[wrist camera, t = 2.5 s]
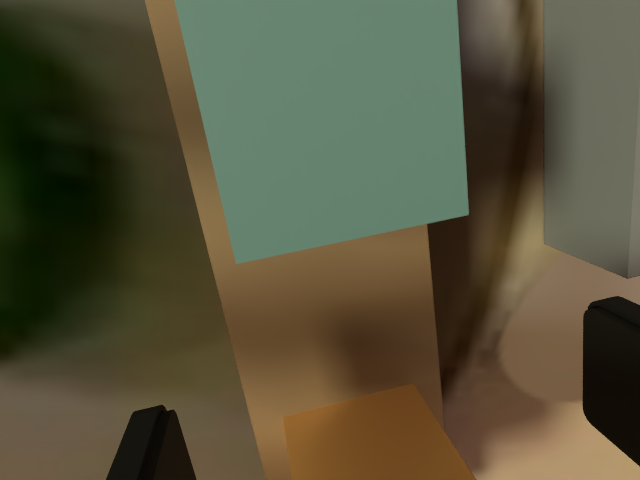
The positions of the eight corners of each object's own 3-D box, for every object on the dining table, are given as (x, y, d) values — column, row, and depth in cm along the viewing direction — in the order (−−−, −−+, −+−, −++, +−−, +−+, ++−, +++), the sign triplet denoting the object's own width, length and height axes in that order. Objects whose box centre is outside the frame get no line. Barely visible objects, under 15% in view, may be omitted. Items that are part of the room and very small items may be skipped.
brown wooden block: (148, -50, 13) (117, -107, 10) (357, -74, 14) (395, -134, 10) (283, 506, 20) (293, 586, 16) (418, 467, 20) (454, 536, 17)
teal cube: (196, 35, 11) (169, -18, 6) (371, 11, 11) (454, -53, 7) (236, 211, 12) (235, 264, 8) (390, 181, 13) (469, 215, 8)
